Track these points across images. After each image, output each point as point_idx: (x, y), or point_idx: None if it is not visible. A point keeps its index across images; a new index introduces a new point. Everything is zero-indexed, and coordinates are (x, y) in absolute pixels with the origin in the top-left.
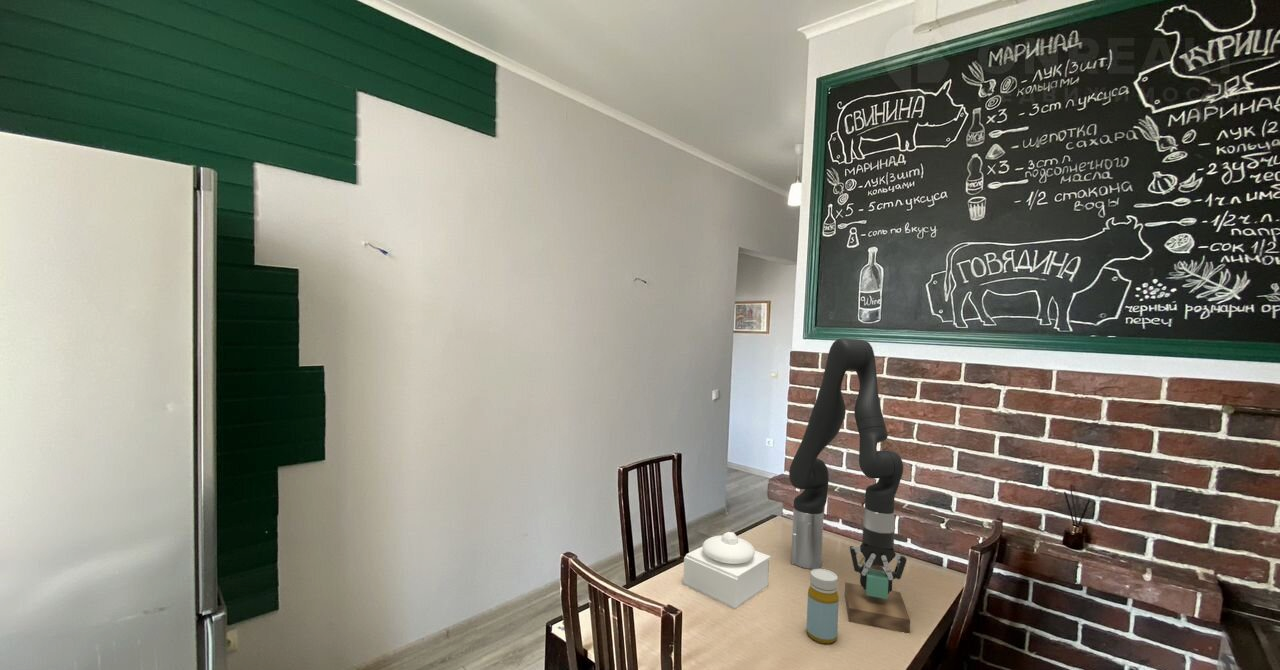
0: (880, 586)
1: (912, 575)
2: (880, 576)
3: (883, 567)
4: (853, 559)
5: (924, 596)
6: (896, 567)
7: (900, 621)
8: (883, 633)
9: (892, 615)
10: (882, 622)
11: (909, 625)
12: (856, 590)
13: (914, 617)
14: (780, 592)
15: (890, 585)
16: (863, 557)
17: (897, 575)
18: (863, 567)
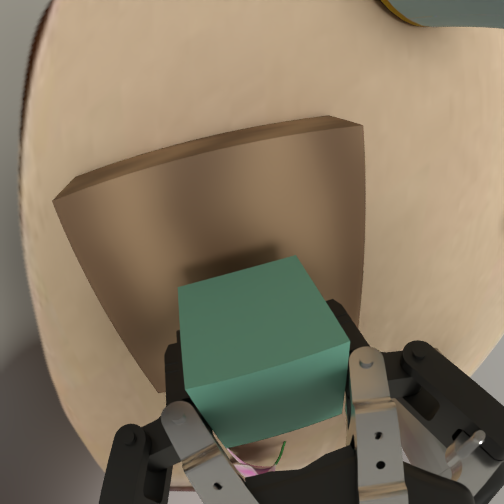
0: (232, 327)
1: None
2: (249, 397)
3: (233, 454)
4: (479, 395)
5: (117, 416)
6: (161, 494)
7: (98, 178)
8: (176, 100)
9: (135, 182)
10: (185, 147)
11: (64, 189)
12: None
13: (94, 311)
14: (491, 199)
15: (175, 373)
16: (280, 457)
17: (135, 446)
18: (387, 395)
